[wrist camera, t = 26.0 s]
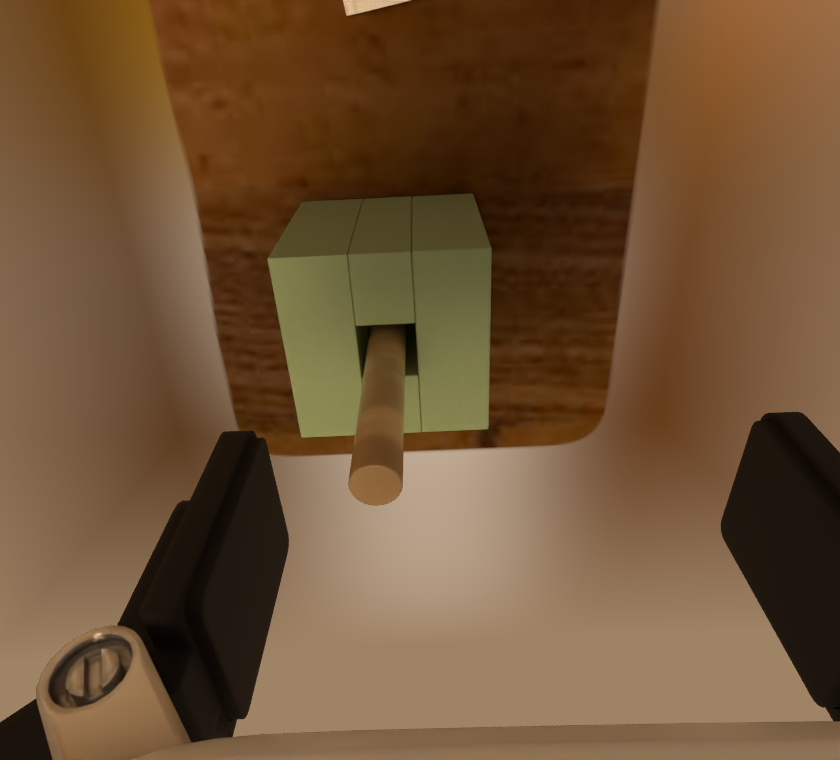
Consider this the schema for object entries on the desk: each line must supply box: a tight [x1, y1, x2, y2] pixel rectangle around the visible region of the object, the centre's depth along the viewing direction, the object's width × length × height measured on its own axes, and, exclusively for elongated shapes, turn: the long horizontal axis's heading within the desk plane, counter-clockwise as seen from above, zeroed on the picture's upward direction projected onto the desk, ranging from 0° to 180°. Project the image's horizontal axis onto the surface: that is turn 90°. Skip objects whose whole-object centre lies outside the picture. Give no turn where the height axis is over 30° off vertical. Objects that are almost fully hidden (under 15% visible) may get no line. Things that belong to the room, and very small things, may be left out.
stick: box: [348, 324, 406, 505], centre depth 24 cm, size 2×2×16 cm
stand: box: [268, 193, 492, 437], centre depth 28 cm, size 8×8×8 cm
